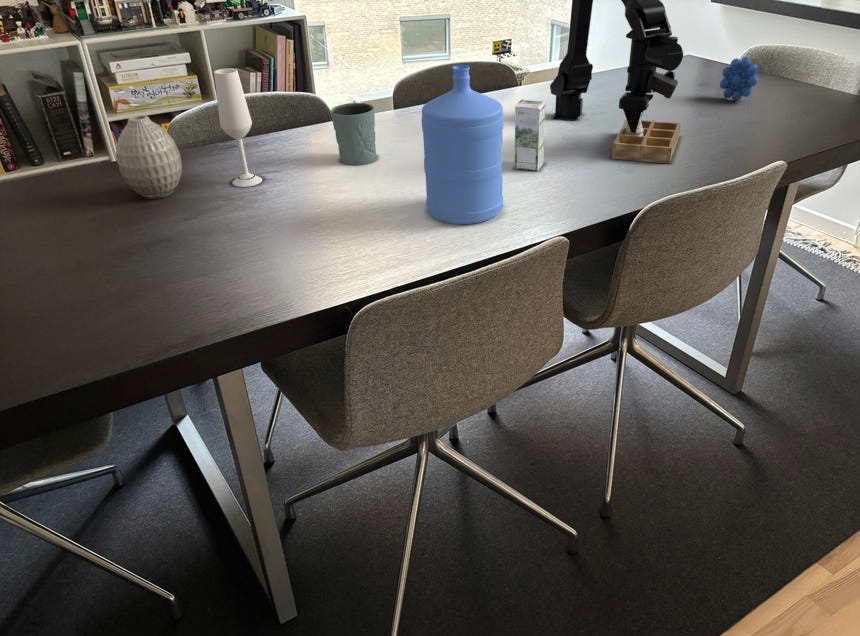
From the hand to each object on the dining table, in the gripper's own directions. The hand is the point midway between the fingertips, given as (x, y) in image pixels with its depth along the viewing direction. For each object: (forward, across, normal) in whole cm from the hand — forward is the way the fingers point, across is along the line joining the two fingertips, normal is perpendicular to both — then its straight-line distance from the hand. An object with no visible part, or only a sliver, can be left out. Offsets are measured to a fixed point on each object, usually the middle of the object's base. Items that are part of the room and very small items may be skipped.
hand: (634, 129), depth 181 cm
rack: (+4, 0, -3) cm, 5 cm away
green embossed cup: (+4, -26, +62) cm, 67 cm away
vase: (+4, -58, +95) cm, 111 cm away
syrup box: (+4, -20, +21) cm, 29 cm away
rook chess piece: (+2, 0, 0) cm, 2 cm away
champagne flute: (+4, -46, +80) cm, 92 cm away
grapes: (+4, +47, -22) cm, 52 cm away
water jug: (+4, -48, +27) cm, 55 cm away
